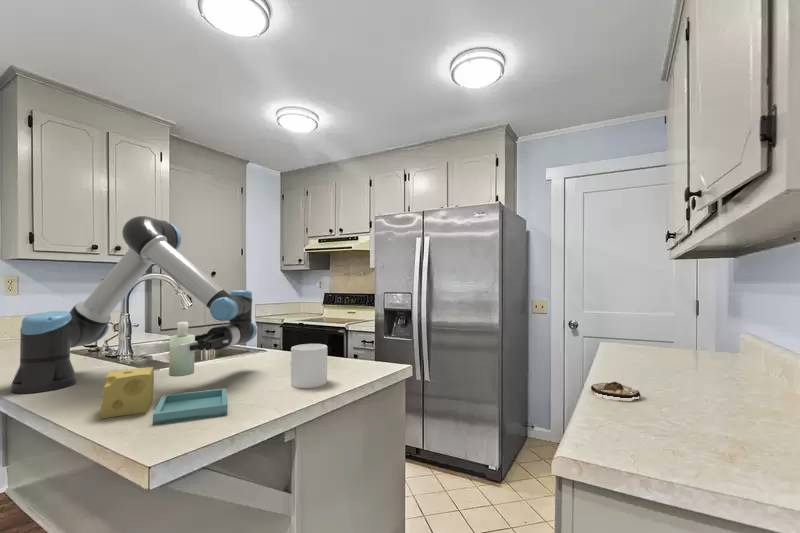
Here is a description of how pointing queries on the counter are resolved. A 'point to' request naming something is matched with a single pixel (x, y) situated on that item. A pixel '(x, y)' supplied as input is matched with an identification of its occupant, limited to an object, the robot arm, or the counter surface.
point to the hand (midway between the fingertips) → (168, 349)
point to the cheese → (127, 392)
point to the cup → (308, 365)
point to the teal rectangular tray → (190, 406)
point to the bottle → (184, 362)
